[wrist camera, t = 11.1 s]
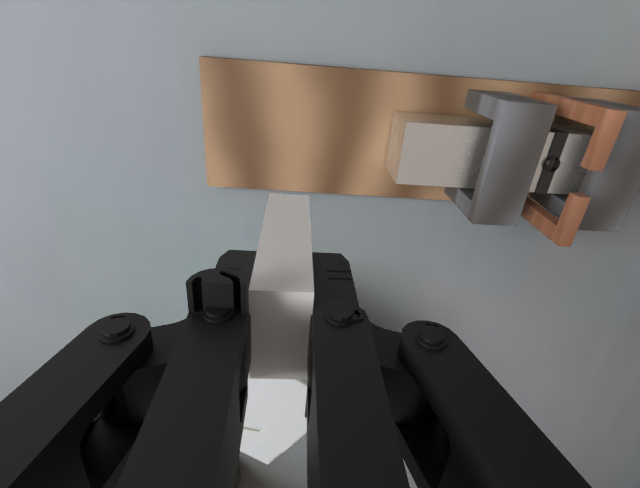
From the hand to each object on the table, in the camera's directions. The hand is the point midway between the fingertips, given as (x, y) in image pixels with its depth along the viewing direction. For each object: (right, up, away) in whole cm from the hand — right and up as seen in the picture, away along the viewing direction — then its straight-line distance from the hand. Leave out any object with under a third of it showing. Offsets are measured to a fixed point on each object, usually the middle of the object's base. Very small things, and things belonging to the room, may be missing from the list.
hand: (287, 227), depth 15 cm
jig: (+9, +7, +15) cm, 19 cm away
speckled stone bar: (+14, +7, +14) cm, 21 cm away
